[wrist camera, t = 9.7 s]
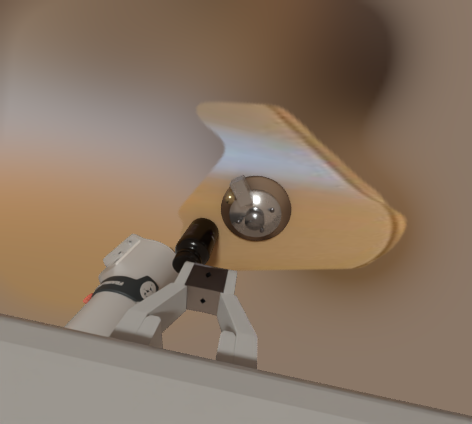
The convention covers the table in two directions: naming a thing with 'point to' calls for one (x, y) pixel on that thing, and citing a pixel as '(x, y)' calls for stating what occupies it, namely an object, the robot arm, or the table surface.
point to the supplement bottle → (195, 243)
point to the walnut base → (264, 185)
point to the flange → (253, 209)
